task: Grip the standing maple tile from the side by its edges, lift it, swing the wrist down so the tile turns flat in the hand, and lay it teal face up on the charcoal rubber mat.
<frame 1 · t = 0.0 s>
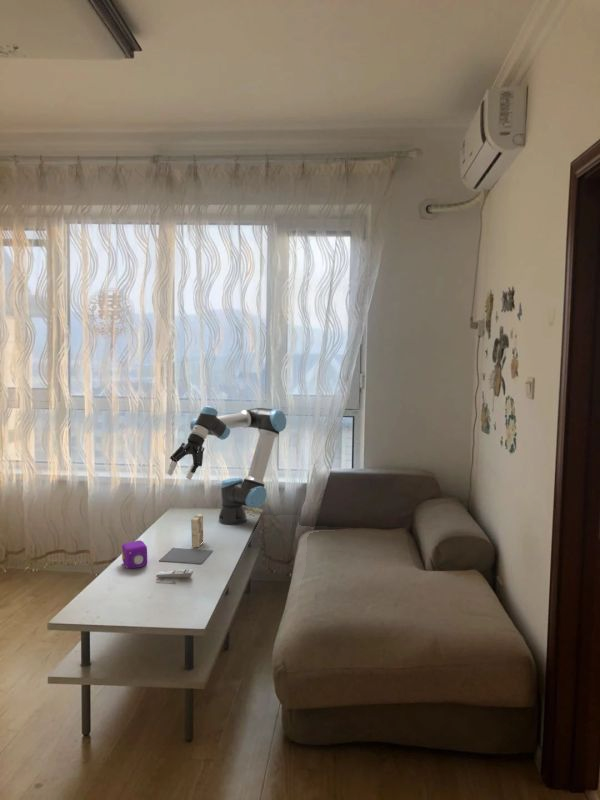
hand: (178, 476, 270), 36 cm above the table, tool tilted 35°, fingers open, 13 cm apart
mat: (186, 556, 268), on the table
tile: (197, 544, 282), on the table
toy camera: (136, 566, 257), on the table
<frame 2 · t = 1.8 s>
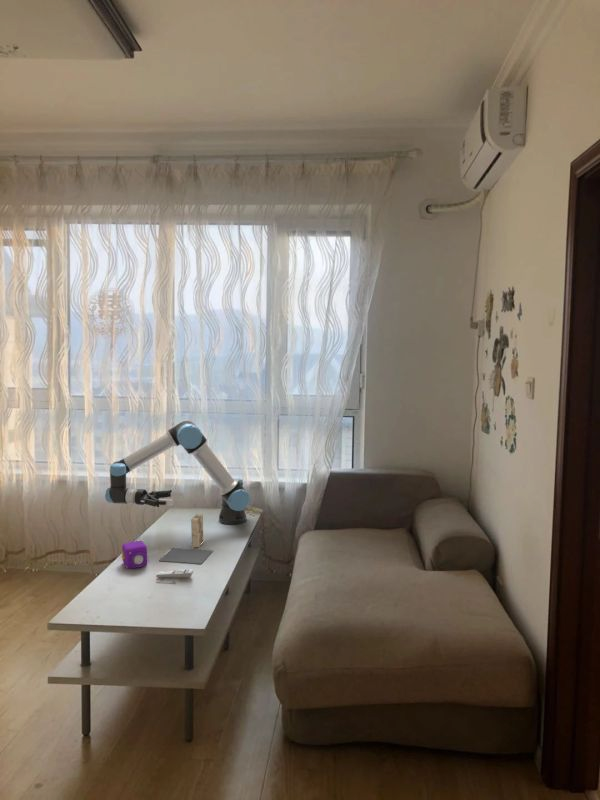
hand: (178, 499, 281), 22 cm above the table, tool horizontal, fingers open, 13 cm apart
nothing on the table moved.
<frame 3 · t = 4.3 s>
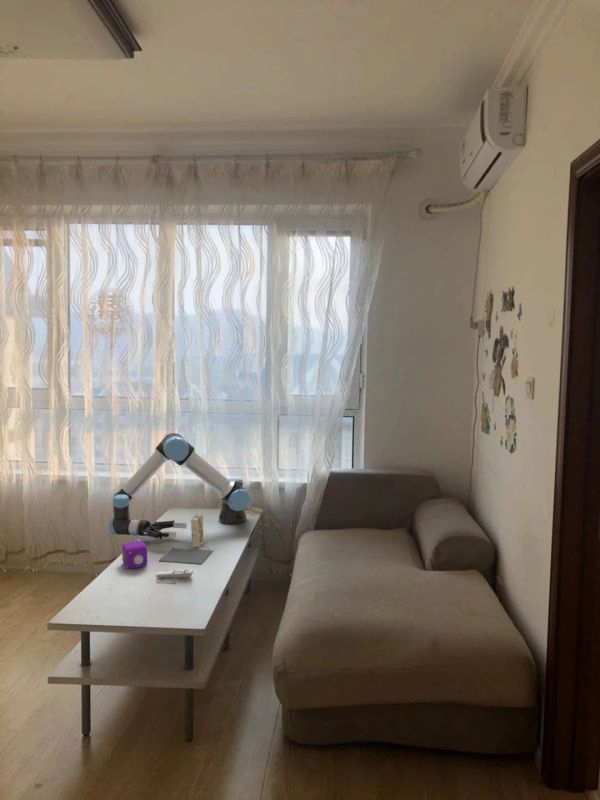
hand: (181, 530, 283), 7 cm above the table, tool horizontal, fingers open, 13 cm apart
nothing on the table moved.
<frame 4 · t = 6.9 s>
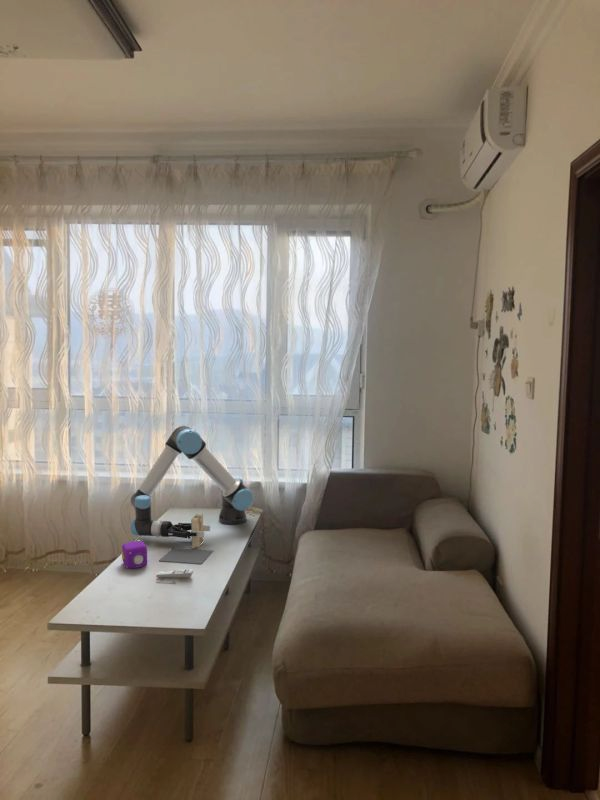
hand: (206, 531, 281), 7 cm above the table, tool horizontal, fingers closed on tile, 8 cm apart
tile: (197, 544, 282), on the table, touching gripper
everything else where it was.
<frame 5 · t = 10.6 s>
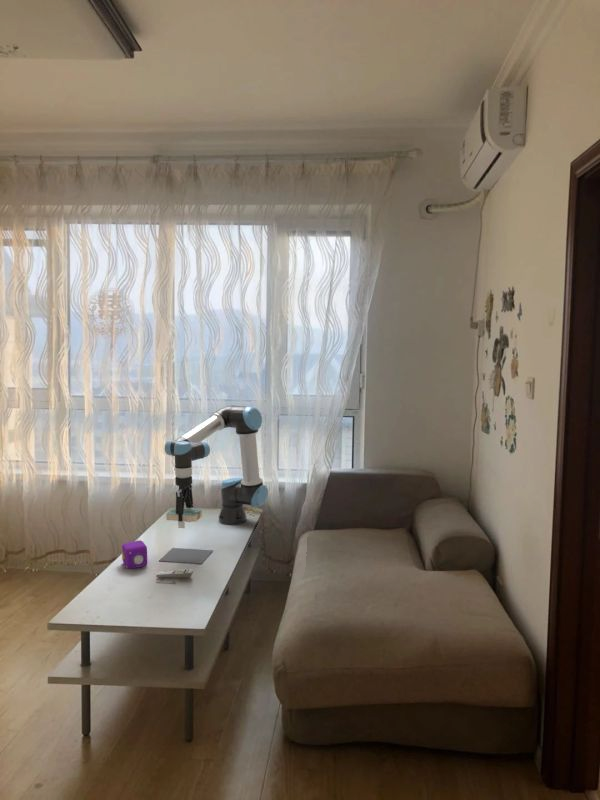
hand: (185, 524, 266), 15 cm above the table, tool pointing down, fingers closed on tile, 8 cm apart
tile: (169, 514, 267), point 20 cm above the table, tilted 90°, touching gripper
everything else where it was.
when the fingers open (2 cm above the table, at t = 14.5 s): tile drops 4 cm, resting on mat.
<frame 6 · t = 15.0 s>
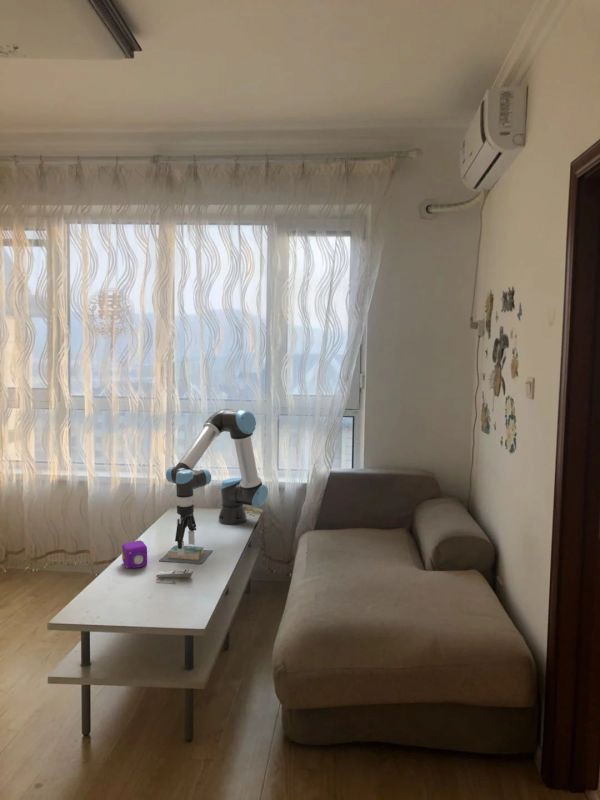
hand: (186, 549, 267), 3 cm above the table, tool pointing down, fingers open, 13 cm apart
tile: (171, 551, 268), point 2 cm above the table, tilted 90°, touching mat
everything else where it was.
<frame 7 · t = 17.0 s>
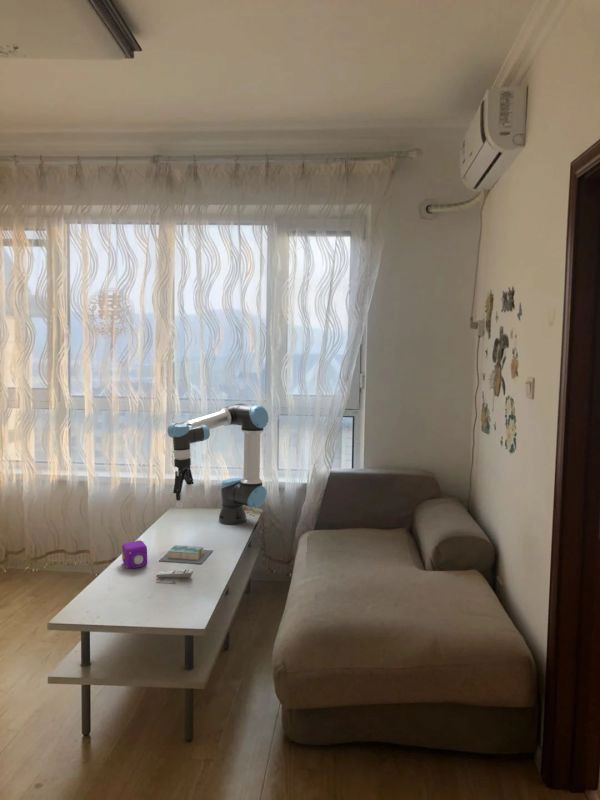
hand: (184, 502, 272), 23 cm above the table, tool pointing down, fingers open, 13 cm apart
nothing on the table moved.
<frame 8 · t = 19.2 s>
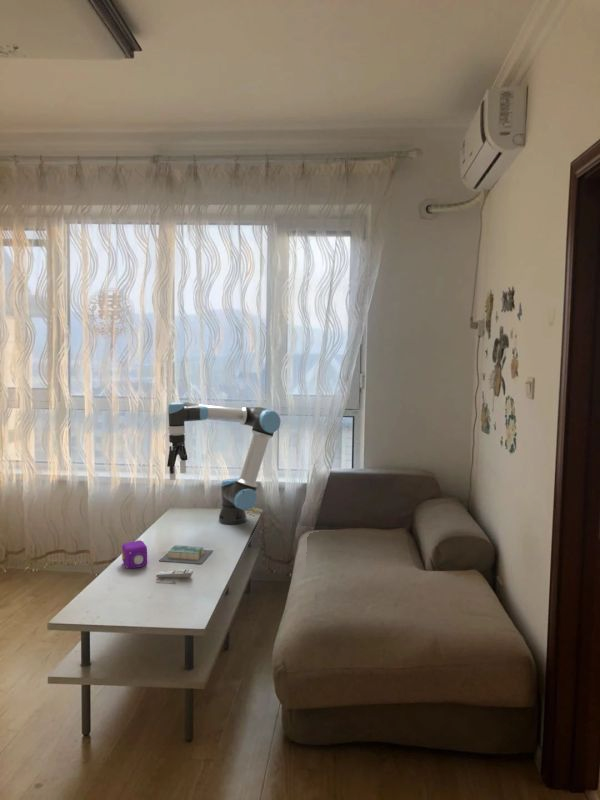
hand: (178, 476, 288), 32 cm above the table, tool pointing down, fingers open, 13 cm apart
nothing on the table moved.
at the end: tile tilted 90°; tile touching mat; tile inside the target area on the mat (4.2 cm from its centre), point 2.0 cm above the mat's base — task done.
